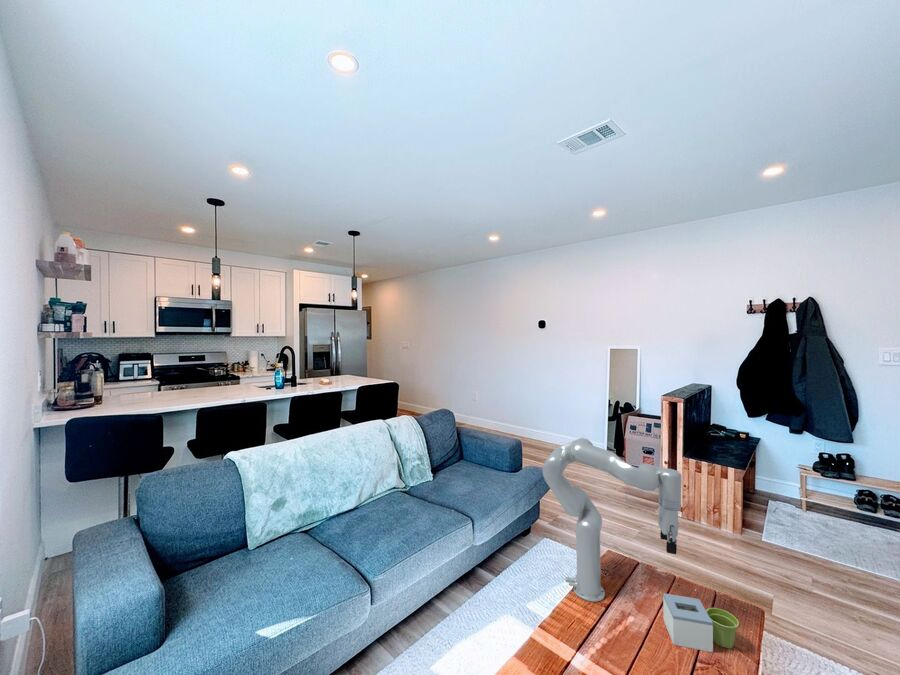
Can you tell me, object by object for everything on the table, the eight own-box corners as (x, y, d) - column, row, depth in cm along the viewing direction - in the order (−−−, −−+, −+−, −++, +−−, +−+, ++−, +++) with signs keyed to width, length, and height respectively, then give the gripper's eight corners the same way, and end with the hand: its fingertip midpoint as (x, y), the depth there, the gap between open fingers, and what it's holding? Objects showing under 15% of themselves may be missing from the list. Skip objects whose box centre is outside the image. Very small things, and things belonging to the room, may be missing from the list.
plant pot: (700, 636, 132) (699, 612, 132) (716, 628, 136) (716, 604, 136) (728, 656, 123) (728, 630, 123) (745, 647, 127) (745, 622, 127)
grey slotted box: (673, 644, 128) (673, 615, 128) (663, 619, 140) (663, 593, 140) (713, 652, 125) (712, 622, 125) (699, 626, 137) (699, 599, 137)
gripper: (653, 491, 152) (652, 533, 152) (663, 510, 135) (662, 556, 135) (674, 494, 149) (673, 536, 149) (687, 514, 133) (685, 561, 133)
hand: (668, 546), depth 142 cm, fingers open, 9 cm apart
